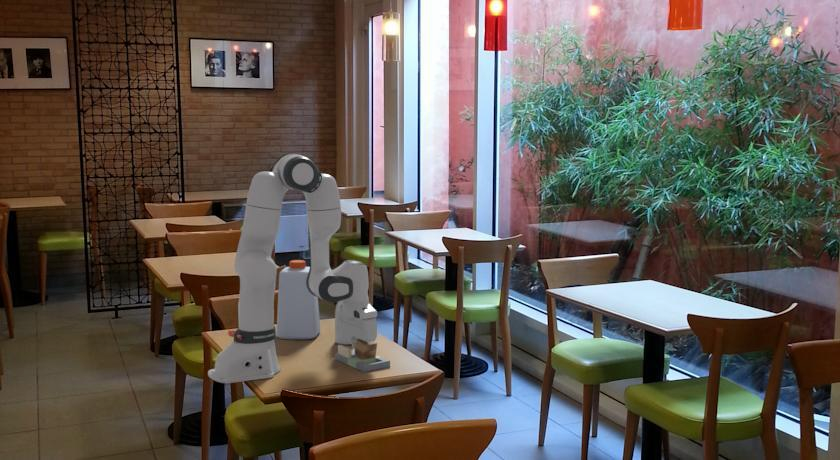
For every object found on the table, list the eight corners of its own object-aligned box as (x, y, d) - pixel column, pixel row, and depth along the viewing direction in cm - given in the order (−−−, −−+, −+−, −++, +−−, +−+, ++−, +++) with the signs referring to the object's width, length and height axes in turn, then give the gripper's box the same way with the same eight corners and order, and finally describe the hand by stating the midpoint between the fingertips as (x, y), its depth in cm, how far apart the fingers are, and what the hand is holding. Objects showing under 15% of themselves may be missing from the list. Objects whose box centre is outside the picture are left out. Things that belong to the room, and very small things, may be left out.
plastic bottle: (282, 329, 319) (281, 257, 315) (321, 330, 318) (321, 258, 314) (274, 340, 304) (272, 264, 300) (315, 340, 303) (314, 264, 300)
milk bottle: (359, 344, 299) (359, 289, 296) (338, 346, 296) (338, 290, 294) (353, 338, 306) (352, 285, 303) (332, 340, 303) (332, 286, 301)
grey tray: (364, 372, 266) (364, 356, 265) (335, 358, 280) (335, 344, 279) (390, 366, 272) (390, 351, 271) (360, 354, 286) (360, 339, 285)
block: (363, 359, 272) (364, 345, 271) (354, 353, 276) (356, 339, 275) (375, 357, 275) (377, 343, 274) (367, 351, 279) (368, 337, 278)
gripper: (331, 304, 283) (332, 343, 285) (363, 315, 267) (364, 357, 269) (347, 301, 287) (348, 340, 289) (380, 312, 271) (380, 354, 272)
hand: (356, 349), depth 279 cm, fingers closed
